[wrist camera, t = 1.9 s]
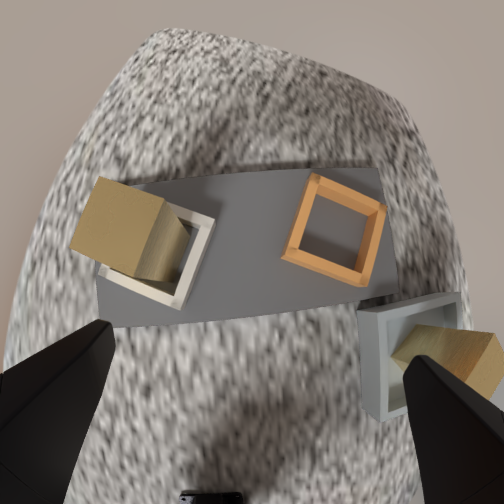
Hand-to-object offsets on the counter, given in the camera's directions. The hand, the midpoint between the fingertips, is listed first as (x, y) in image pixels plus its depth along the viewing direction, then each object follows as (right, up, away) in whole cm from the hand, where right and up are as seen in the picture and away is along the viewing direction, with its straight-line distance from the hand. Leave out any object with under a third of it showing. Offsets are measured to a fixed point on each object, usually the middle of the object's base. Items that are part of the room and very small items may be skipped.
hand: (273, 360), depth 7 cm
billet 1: (-8, +3, +15) cm, 18 cm away
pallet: (0, +4, +18) cm, 18 cm away
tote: (+14, -7, +17) cm, 24 cm away
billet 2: (+15, -7, +15) cm, 22 cm away
